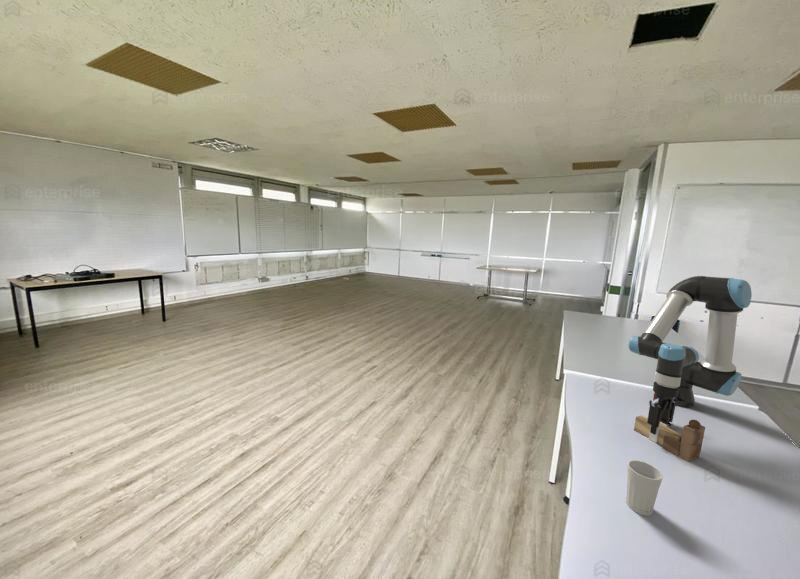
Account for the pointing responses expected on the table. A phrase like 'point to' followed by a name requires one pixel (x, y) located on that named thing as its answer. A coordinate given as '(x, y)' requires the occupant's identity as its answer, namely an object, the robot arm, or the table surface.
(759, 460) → the table surface
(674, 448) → the brown domed block
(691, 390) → the robot arm
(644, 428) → the rail
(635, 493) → the cup
